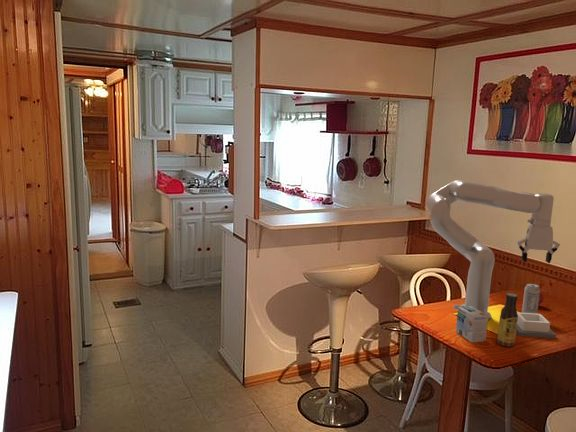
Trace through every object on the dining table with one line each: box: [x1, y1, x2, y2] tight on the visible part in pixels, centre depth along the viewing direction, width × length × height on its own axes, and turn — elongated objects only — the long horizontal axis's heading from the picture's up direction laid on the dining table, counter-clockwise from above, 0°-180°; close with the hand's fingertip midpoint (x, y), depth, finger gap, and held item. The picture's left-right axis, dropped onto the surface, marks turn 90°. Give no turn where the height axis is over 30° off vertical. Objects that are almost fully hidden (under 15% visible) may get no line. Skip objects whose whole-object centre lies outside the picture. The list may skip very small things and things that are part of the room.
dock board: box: [516, 311, 557, 339], centre depth 207 cm, size 14×14×6 cm
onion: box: [538, 292, 544, 306], centre depth 236 cm, size 6×6×8 cm
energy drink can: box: [521, 283, 541, 314], centre depth 220 cm, size 6×6×15 cm
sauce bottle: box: [496, 292, 519, 347], centre depth 192 cm, size 6×6×20 cm
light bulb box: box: [455, 306, 489, 343], centre depth 199 cm, size 11×7×11 cm, turn 16°
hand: (536, 261), depth 216 cm, fingers open, 9 cm apart
